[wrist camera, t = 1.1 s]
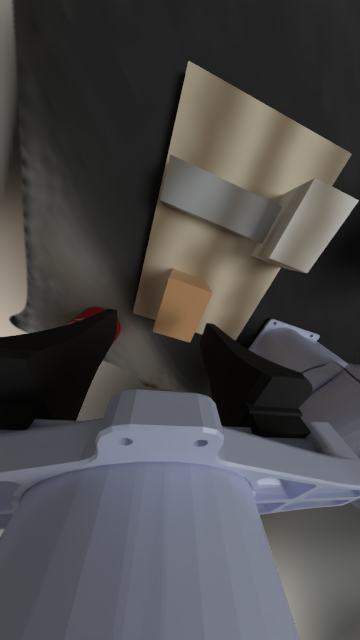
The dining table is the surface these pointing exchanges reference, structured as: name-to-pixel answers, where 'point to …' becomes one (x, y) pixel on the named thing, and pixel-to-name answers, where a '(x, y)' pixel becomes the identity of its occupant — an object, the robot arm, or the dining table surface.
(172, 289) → the block
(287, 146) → the mounting panel
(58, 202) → the dining table surface
